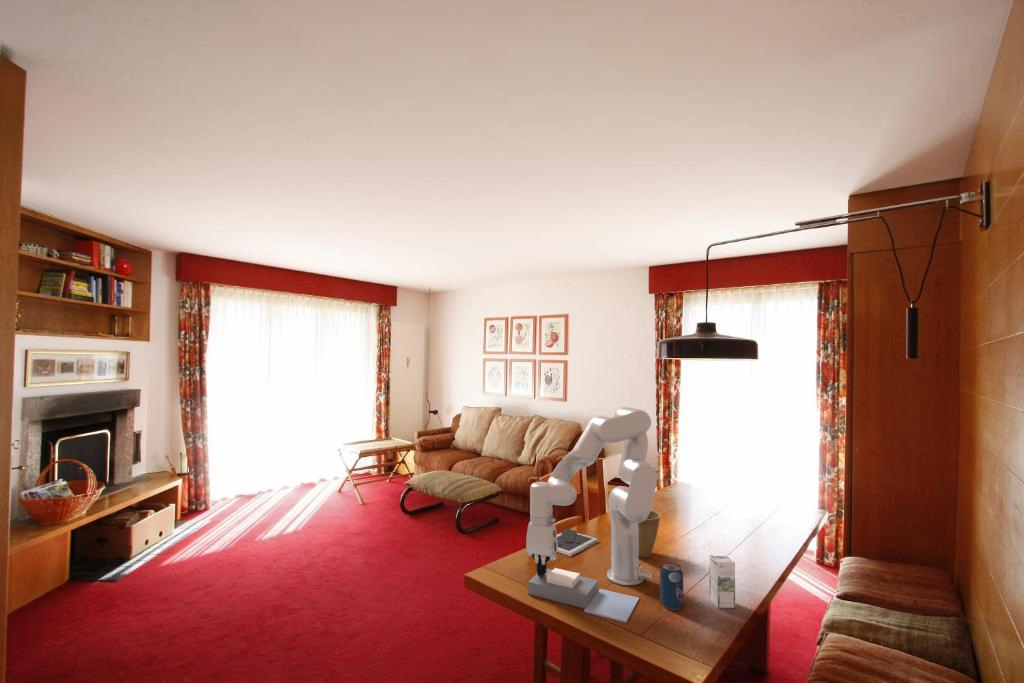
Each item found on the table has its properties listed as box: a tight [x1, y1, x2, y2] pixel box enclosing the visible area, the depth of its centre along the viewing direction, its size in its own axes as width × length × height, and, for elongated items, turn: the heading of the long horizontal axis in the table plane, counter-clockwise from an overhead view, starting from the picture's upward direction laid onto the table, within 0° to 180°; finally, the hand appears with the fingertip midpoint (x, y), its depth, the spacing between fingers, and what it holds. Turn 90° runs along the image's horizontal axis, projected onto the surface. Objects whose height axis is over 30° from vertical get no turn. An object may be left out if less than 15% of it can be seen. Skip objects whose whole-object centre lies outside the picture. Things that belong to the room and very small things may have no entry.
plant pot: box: [638, 510, 661, 559], centre depth 190 cm, size 15×15×16 cm
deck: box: [527, 568, 599, 610], centre depth 157 cm, size 20×12×4 cm, turn 62°
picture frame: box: [556, 528, 599, 557], centre depth 200 cm, size 16×3×21 cm
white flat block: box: [547, 567, 581, 588], centre depth 157 cm, size 9×7×2 cm
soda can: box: [659, 562, 685, 611], centre depth 149 cm, size 7×7×12 cm
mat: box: [583, 588, 640, 624], centre depth 149 cm, size 13×16×1 cm
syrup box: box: [708, 554, 736, 609], centre depth 150 cm, size 6×6×14 cm
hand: (541, 574), depth 161 cm, fingers closed
